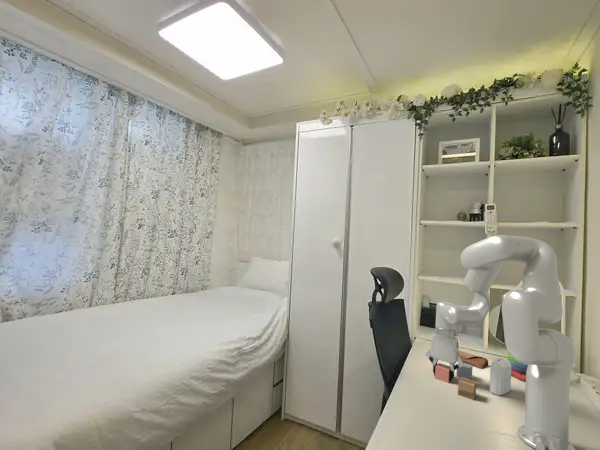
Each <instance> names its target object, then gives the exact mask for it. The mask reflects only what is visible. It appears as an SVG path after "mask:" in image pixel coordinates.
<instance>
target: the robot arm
mask: <svg viewBox="0 0 600 450" xmlns="http://www.w3.org/2000/svg"><path fill="white" fill-rule="evenodd" d="M460 262H461V265H462V266H463V267H464V269H466V270H467V273H466V275H465V276H464V279H463V285H464V286H465V287H466V288H467V289H469V290H470V291H471V292H473V293H474V297H473V300H472V302H471V303H470V305H456V304H455V303H453V302H450V301H449V302H448V301H442V300H441V301H438V302H436V306H435V307H436V309H435V327H434V328H435V329H434V331H435V332H433V334H432V338H431V345H430V349H429V350H428V351H426V352H425V353H424V355H425V357H427V358H428V360H429V361H430V362H431V364H432V373H433V375H434V377H435V368H436V365H437V364H438V363H439V362H438V361H442V362H446V363H449V366H450V371H449V382H451V381H452V380H454V378H455V371H457V368H459V367H462V366H464V363H463V361H462V360H461V358H460V357H459V351H460V348H459V338H458V337H460V332H458V331H457V329H456V328H457V327H456V326H459V327H461V326H462V327H464V326H468V327H470V326H471V327H474V326H478V325H481V323H483V322H484V320H485V319H486V316H488V313H489V312H490V310H491V297H490V293H489V291H490V289H491V287H492V285H493V283H494V281H495V279H496V278H497V275H498V274H499V272H500V270H501V268H502V266H503V265H504V262H505V263H506V262H507V263H519V264H524V265H525V266H524V267H523V270H522V274H521V280H522V289H515V290H511V291H509V292H507V294H506V295H505V296H504V297H503V300H502V303H501V313H502V314H501V315H502V326H503V336H504V337H503V338H504V343H505V347H506V350H507V353H508V354H510V355H511V357H512V358H513V359H514V360H516V361H517V362H519V363H521V364H525V365H528V367H527V371H526V382H525V388H524V389H525V395H524V396H525V397H524V398H525V399H524V400H525V401H524V425H520V426H519V427H518V428H517V435H518V437H520V439H521V440H522V441H523V442H524V443H525V444H527V445H528V446H530V447H531V448H533V449H535V450H576V447H575V446H574V445H573V444H572V443H571V442H570V440H569V433H570V432H569V430H570V429H569V428H570V427H569V426H570V390H571V389H570V388H571V386H570V384H571V374H572V369H573V364H574V362H575V361H574V360H575V354H576V353H575V347H574V344H573V342H572V341H571V340H570V338H569V337H568V336H567V335H566V334H564V333H563V332H560V331H558V330H557V329H552V328H545V327H544V328H540V327H539V325H546V324H547V325H549V324H556V323H558V322H559V321H561V319H562V318H563V303H562V296H561V290H560V283H559V276H558V259H557V255H556V253H555V250H554V249H553V247H552V246H550V244H548V243H546V242H545V241H543V240H540V239H537V238H534V237H527V236H518V235H508V234H495V235H492V236H488V237H487V238H484V239H481V240H479V241H477V242H475V243H472V244H469V245H468V246H467V247H465V248H464V249H463V250H462V252H461V254H460Z"/></svg>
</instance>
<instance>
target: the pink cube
mask: <svg viewBox="0 0 600 450" xmlns="http://www.w3.org/2000/svg"><path fill="white" fill-rule="evenodd" d="M449 371H450V365H447V364H444V363H440V362H437V365H436V368H435V376H434V379H435V380H438V381H441V382H444V383H448V384H449V383H450V381H449Z"/></svg>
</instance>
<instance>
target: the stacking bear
mask: <svg viewBox="0 0 600 450" xmlns="http://www.w3.org/2000/svg"><path fill="white" fill-rule="evenodd" d="M507 360H509V361H510V363H511V377H514V378H516V379H517V380H519V381H522V382H523V383H526V371H527V367H528V365H525V364H521V363H519V362H517V361H516V360H514V359H513V358H512V357H511V355H510V354H509V353H508V355H507Z"/></svg>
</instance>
